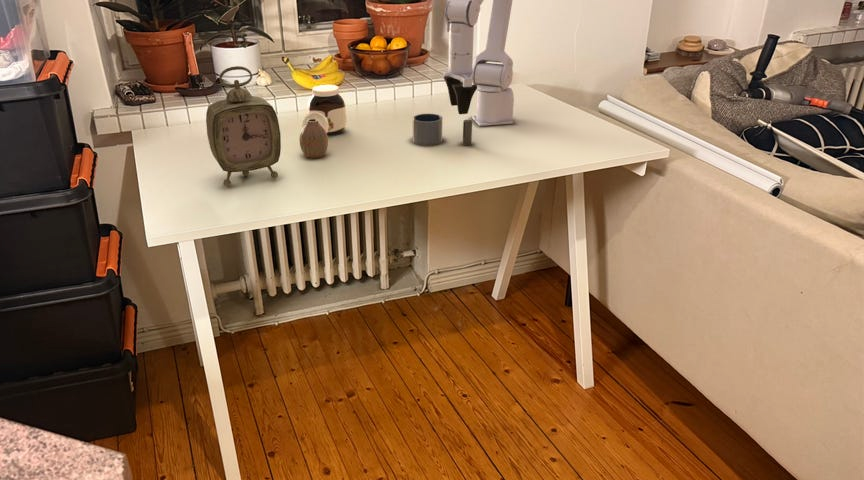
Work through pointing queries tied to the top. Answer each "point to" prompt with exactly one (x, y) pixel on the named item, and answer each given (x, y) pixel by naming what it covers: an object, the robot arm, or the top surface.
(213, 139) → the tabletop clock
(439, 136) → the grey plastic cup
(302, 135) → the vase
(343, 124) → the spread jar
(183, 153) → the top surface
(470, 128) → the grey upright block
